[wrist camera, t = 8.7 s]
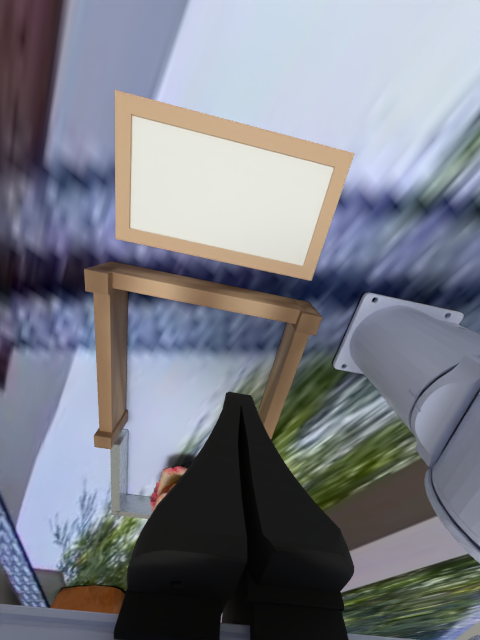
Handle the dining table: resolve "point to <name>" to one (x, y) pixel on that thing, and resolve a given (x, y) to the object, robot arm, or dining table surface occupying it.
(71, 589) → the bread
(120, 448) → the stand tray
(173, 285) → the wooden frame
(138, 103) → the frame lid
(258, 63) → the dining table surface
